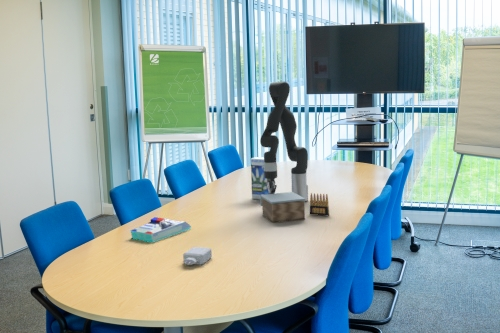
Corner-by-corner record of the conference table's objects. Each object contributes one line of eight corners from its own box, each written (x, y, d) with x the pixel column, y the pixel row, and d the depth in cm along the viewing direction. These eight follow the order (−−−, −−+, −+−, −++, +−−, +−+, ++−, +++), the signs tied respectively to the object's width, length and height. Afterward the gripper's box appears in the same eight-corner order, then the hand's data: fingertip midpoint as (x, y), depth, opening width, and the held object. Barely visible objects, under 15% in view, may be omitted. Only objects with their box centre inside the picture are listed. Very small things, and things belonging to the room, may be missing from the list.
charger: (177, 268, 239) (192, 257, 253) (197, 270, 236) (211, 258, 250) (176, 257, 238) (191, 246, 252) (196, 258, 235) (211, 248, 249)
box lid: (292, 202, 328) (292, 191, 327) (305, 209, 309) (305, 198, 308) (260, 205, 322) (260, 195, 321) (271, 213, 304) (271, 202, 303)
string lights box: (251, 198, 365) (250, 158, 361) (257, 196, 372) (255, 156, 368) (270, 200, 359) (269, 159, 355) (275, 197, 366) (274, 157, 362)
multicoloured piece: (127, 240, 285) (125, 222, 284) (169, 225, 309) (167, 209, 308) (151, 244, 275) (150, 226, 274) (193, 229, 300) (192, 213, 298)
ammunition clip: (329, 215, 317) (328, 193, 315) (328, 215, 315) (327, 194, 313) (310, 213, 322) (310, 192, 320) (309, 214, 320) (309, 193, 318)
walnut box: (293, 212, 327) (292, 194, 325) (304, 219, 310) (304, 201, 308) (262, 215, 322) (262, 197, 320) (273, 222, 305) (272, 204, 303)
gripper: (280, 170, 326) (281, 200, 329) (272, 167, 339) (273, 196, 342) (268, 172, 324) (269, 202, 327) (260, 168, 337) (261, 197, 340)
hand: (271, 199), depth 334 cm, fingers closed
